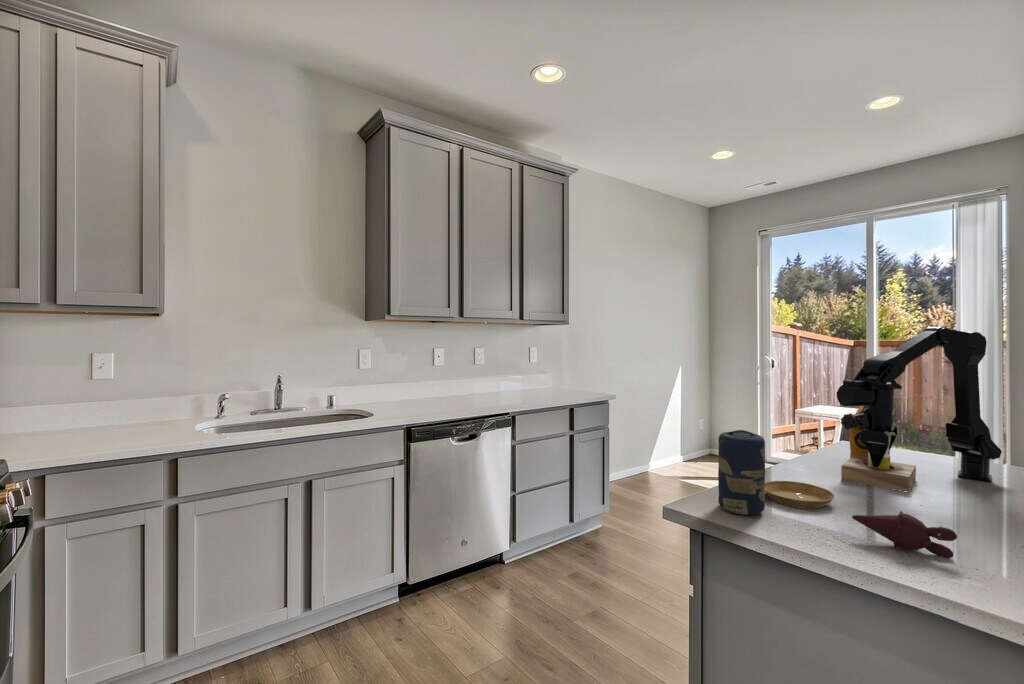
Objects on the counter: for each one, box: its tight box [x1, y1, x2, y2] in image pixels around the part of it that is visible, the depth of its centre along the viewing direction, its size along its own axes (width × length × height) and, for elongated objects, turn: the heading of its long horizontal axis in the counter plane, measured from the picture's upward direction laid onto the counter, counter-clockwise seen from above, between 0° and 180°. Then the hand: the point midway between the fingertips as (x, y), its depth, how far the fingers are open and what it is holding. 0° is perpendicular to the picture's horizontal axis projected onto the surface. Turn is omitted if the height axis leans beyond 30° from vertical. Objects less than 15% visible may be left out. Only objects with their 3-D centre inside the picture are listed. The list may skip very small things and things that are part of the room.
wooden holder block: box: [840, 456, 917, 493], centre depth 129 cm, size 14×14×4 cm
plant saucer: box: [765, 480, 835, 509], centre depth 114 cm, size 15×15×3 cm
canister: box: [717, 429, 766, 516], centre depth 108 cm, size 10×10×18 cm
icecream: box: [851, 510, 958, 559], centre depth 89 cm, size 7×7×15 cm
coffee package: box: [849, 406, 891, 459], centre depth 145 cm, size 10×12×22 cm
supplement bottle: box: [868, 447, 891, 469], centre depth 129 cm, size 5×5×8 cm
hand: (878, 463), depth 129 cm, fingers open, 9 cm apart
